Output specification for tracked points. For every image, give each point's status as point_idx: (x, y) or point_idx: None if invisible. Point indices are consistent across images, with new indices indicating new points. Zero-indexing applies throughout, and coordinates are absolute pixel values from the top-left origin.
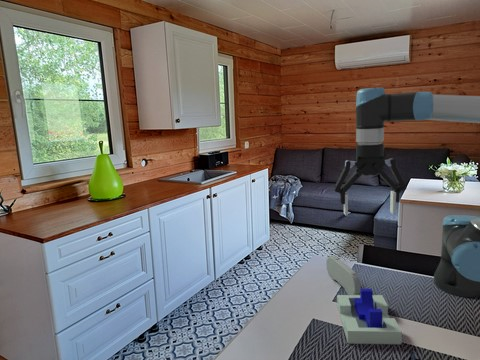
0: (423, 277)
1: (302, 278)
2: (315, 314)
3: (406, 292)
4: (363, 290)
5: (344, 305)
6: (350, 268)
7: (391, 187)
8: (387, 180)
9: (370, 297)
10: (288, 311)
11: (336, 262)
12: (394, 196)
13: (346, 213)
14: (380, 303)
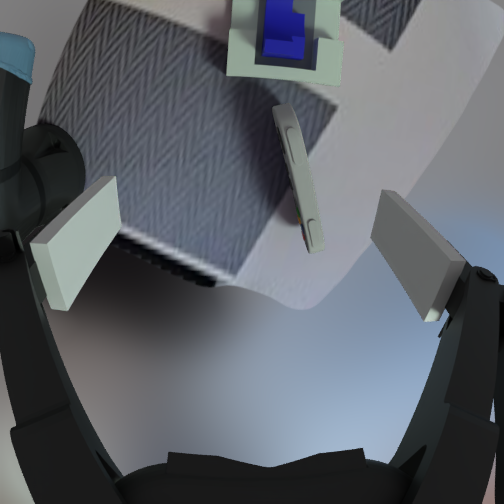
0: None
1: (374, 215)
2: (383, 62)
3: (152, 136)
4: (288, 45)
5: (333, 40)
6: (293, 157)
7: (49, 325)
8: (33, 343)
9: (270, 38)
10: (430, 86)
11: (317, 206)
12: (53, 227)
13: (394, 194)
14: (243, 39)
